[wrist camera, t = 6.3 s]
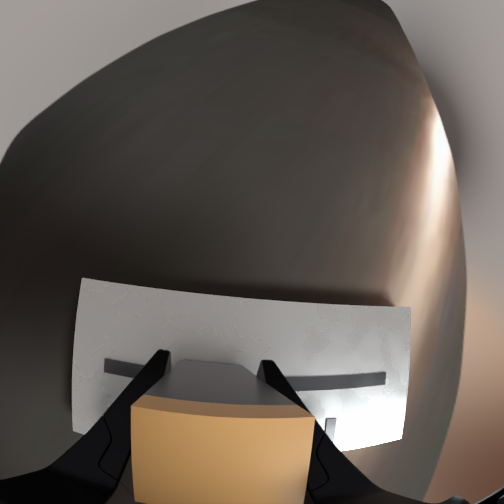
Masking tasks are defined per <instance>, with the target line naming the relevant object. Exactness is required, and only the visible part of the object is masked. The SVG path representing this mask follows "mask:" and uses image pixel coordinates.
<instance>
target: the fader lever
mask: <svg viewBox="0 0 504 504" xmlns="http://www.w3.org/2000/svg"><path fill="white" fill-rule="evenodd" d="M314 423H315V416H313V415H312V414H310V413H309V412H307V411H306V410H304V409H303V408H301V407H300V406H298V405H297V404H295V403H294V402H292V401H291V400H289V399H288V398H287V397H285V396H284V395H282V394H281V393H279V392H278V391H276V390H275V389H274V388H272V387H271V386H269V385H268V384H267V383H265V382H263V381H262V380H261V379H259V378H258V377H257V376H256V375H254V374H253V373H252V372H250V371H249V370H248V369H246V368H245V367H244V366H242V365H236V364H222V363H210V362H200V361H190V360H180V361H179V362H178V363H177V364H176V365H175V366H174V367H173V368H172V369H171V370H170V371H169V372H168V373H166V374H165V375H164V376H163V377H162V378H161V379H160V380H159V381H158V382H157V383H156V384H154V385H153V386H152V387H151V388H150V389H149V390H148V391H147V392H146V393H145V394H143V395H142V396H141V397H140V398H139V399H138V400H137V401H136V402H135V403H133V404H132V405H131V454H132V474H133V488H134V499H135V501H136V502H141V503H146V504H303V503H304V497H305V491H306V485H307V478H308V471H309V464H310V457H311V449H312V441H313V432H314Z"/></svg>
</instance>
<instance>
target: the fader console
mask: <svg viewBox="0 0 504 504" xmlns="http://www.w3.org/2000/svg"><path fill="white" fill-rule="evenodd" d="M410 338H411V309H410V307H388V306H359V305H337V304H319V303H303V302H288V301H275V300H262V299H251V298H240V297H229V296H219V295H209V294H200V293H191V292H182V291H173V290H165V289H157V288H149V287H142V286H134V285H127V284H120V283H113V282H106V281H100V280H93V279H87V278H82V281H81V287H80V294H79V301H78V308H77V316H76V325H75V336H74V348H73V366H72V420H73V431H75V432H78V433H81V434H84V435H85V434H86V433H87V432H88V431H89V430H90V429H91V427H92V426H93V425H94V424H95V423H96V422H97V421H98V419H99V418H100V417H101V416H103V414H104V413H105V411H106V410H107V409H108V408H109V407H110V405H111V404H112V403H113V402H114V401H115V400H116V398H117V397H118V396H119V395H120V394H121V392H122V391H123V390H124V389H125V388H126V387H127V385H128V384H129V383H130V382H131V381H132V380H133V378H134V377H135V376H136V375H137V374H138V373H139V371H140V370H141V369H142V368H143V367H144V365H145V364H146V363H147V362H148V361H149V360H150V358H151V357H152V356H153V355H154V354H155V353H156V351H157V350H159V349H163V350H169V351H170V352H171V369H172V368H173V367H174V366H175V365H176V364H177V363H178V362H179V361H180V360H190V361H200V362H210V363H222V364H236V365H242V366H244V367H245V368H246V369H248V370H249V371H250V372H252V373H253V374H254V375H256V376H257V371H258V368H259V365H260V361H261V360H263V359H265V360H273V361H274V362H275V363H276V365H277V366H278V368H279V369H280V371H281V372H282V373H283V375H284V376H285V378H286V379H287V380H288V382H289V383H290V385H291V386H292V388H293V389H294V390H295V392H296V393H297V394H298V396H299V397H300V399H301V400H302V401H303V403H304V404H305V406H306V407H307V408H308V410H309V411H310V412H311V414H312V415H313V416H315V419H316V420H317V422H318V423H319V424H320V426H321V427H322V428H323V430H324V431H325V432H324V433H326V434H327V435H328V436H329V438H330V439H331V440H332V442H333V443H334V444H335V445H336V446H337V448H338V449H339V450H340V451H345V450H351V449H356V448H362V447H367V446H372V445H376V444H381V443H385V442H389V441H393V440H397V439H401V437H402V431H403V424H404V417H405V409H406V401H407V391H408V379H409V364H410Z"/></svg>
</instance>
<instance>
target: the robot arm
mask: <svg viewBox="0 0 504 504" xmlns="http://www.w3.org/2000/svg"><path fill="white" fill-rule="evenodd" d="M170 370H171V352H170V351H169V350H163V349H159V350H157V351H156V353H155V354H154V355H153V356H152V357H151V358H150V360H149V361H148V362H147V363H146V364H145V365H144V367H143V368H142V369H141V370H140V371H139V373H138V374H137V375H136V376H135V377H134V378H133V380H132V381H131V382H130V383H129V384H128V385H127V387H126V388H125V389H124V390H123V391H122V392H121V394H120V395H119V396H118V397H117V398H116V400H115V401H114V402H113V403H112V404H111V405H110V407H109V408H108V409H107V410H106V411H105V413H104V414H103V416H101V417H100V418H99V419H98V421H97V422H96V423H95V424H94V425H93V426H92V427H91V429H90V430H89V431H88V432H87V433H86V434H85V435H84V436H83V437H82V438H81V439H80V440H78V441H77V442H76V443H75V444H74V445H73V446H72V447H71V448H70V449H68V450H67V451H66V452H65V453H64V454H63V455H62V456H60V457H59V458H58V459H57V460H56V461H55V462H53V463H52V464H51V465H49V466H48V467H46V468H44V469H41V470H38V471H35V472H31V473H28V474H24V475H20V476H16V477H12V478H8V479H3V480H0V504H146V503H141V502H136V501H135V499H134V488H133V474H132V454H131V405H132V404H133V403H135V402H136V401H137V400H138V399H139V398H140V397H141V396H142V395H143V394H145V393H146V392H147V391H148V390H149V389H150V388H151V387H152V386H153V385H154V384H156V383H157V382H158V381H159V380H160V379H161V378H162V377H163V376H164V375H165V374H166V373H168V372H169V371H170ZM257 377H258V378H259V379H261V380H262V381H263V382H265V383H267V384H268V385H269V386H271V387H272V388H274V389H275V390H276V391H278V392H279V393H281V394H282V395H284V396H285V397H287V398H288V399H289V400H291V401H292V402H294V403H295V404H297V405H298V406H300V407H301V408H303V409H304V410H306V411H307V412H309V413H310V414H311V412H310V411H309V410H308V408H307V407H306V406H305V404H304V403H303V401H302V400H301V399H300V397H299V396H298V394H297V393H296V392H295V390H294V389H293V388H292V386H291V385H290V383H289V382H288V380H287V379H286V378H285V376H284V375H283V373H282V372H281V371H280V369H279V368H278V366H277V365H276V363H275V362H274V361H273V360H265V359H263V360H261V361H260V365H259V368H258V371H257ZM324 432H325V431H324V430H323V428H322V427H321V426H320V424H319V423H318V422H317V420H316V419H315V423H314V432H313V441H312V449H311V457H310V464H309V471H308V478H307V485H306V491H305V497H304V503H303V504H431V503H425V502H421V501H418V500H414V499H411V498H407V497H404V496H401V495H397V494H394V493H391V492H388V491H386V490H383V489H381V488H379V487H378V486H376V485H375V484H374V483H372V482H371V481H370V480H369V479H368V478H367V477H366V476H365V475H364V474H363V473H362V472H361V471H360V470H358V469H357V468H356V467H355V466H354V465H353V464H352V463H351V462H350V461H349V460H348V459H347V458H346V457H345V455H344V454H343V453H342V452H341V451H340V450H339V449H338V448H337V446H336V445H335V444H334V443H333V442H332V440H331V439H330V438H329V436H328V435H327V434H326V433H324ZM437 504H470V503H469V502H468V501H467V500H465V499H463V498H460V497H458V496H453V497H451V498H450V499H448V500H446V501H444V502H441V503H437ZM475 504H504V486H503V487H502V488H500V489H499V490H497V491H495V492H494V493H492V494H490V495H489V496H487V497H485V498H484V499H482V500H480V501H478V502H476V503H475Z"/></svg>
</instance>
